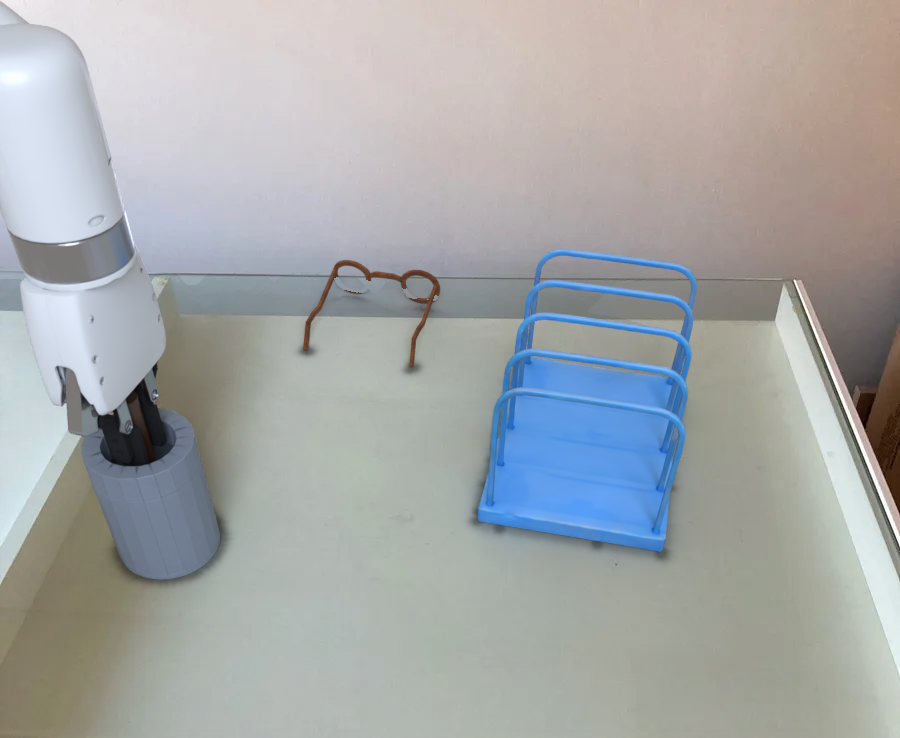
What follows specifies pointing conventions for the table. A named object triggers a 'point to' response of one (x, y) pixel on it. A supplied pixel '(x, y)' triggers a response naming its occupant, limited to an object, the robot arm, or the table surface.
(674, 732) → the table surface
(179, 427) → the pen holder
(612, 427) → the file sorter
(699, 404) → the table surface
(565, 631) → the table surface
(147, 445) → the brown and grey pestle
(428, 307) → the glasses
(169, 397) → the table surface
